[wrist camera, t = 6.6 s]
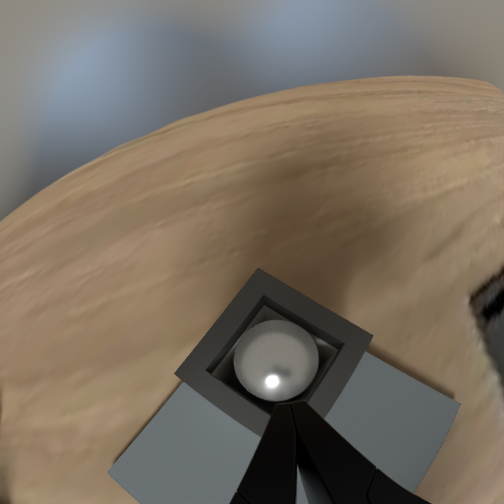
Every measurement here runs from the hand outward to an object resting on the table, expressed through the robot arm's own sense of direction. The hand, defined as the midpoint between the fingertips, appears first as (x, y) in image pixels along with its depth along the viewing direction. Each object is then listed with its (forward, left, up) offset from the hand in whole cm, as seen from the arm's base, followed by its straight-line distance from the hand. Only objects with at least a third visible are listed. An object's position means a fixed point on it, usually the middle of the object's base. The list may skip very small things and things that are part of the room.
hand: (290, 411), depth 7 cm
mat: (-3, +3, -13) cm, 14 cm away
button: (+2, -2, -11) cm, 11 cm away
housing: (+2, -2, -13) cm, 13 cm away
